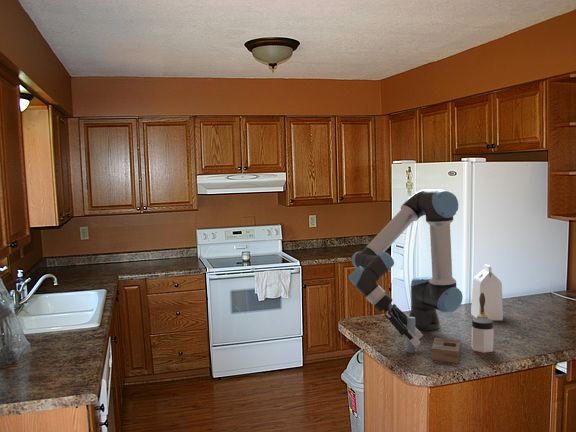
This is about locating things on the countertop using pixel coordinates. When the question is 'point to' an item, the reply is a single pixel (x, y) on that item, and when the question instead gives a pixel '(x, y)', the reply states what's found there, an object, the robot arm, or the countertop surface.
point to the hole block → (446, 350)
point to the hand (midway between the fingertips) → (419, 340)
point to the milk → (487, 294)
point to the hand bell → (482, 306)
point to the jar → (482, 335)
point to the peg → (412, 329)
